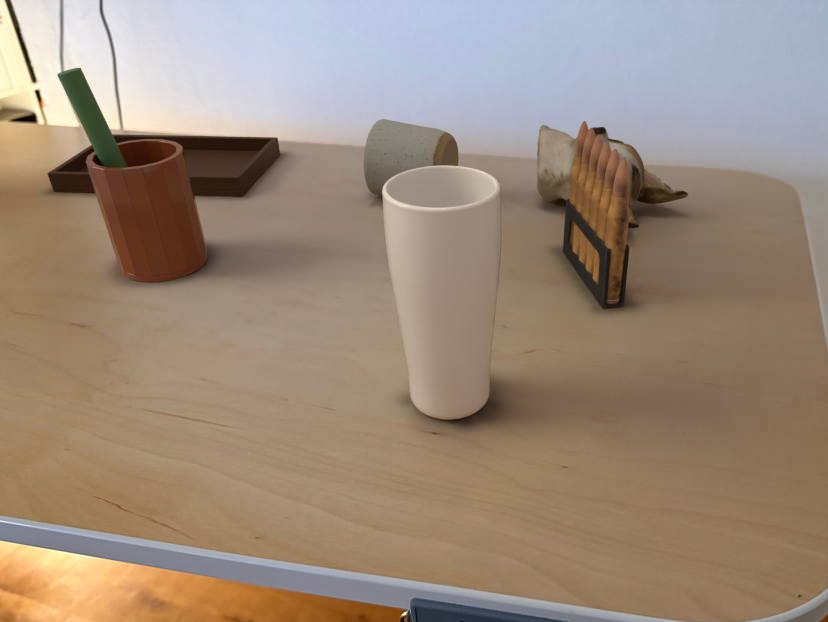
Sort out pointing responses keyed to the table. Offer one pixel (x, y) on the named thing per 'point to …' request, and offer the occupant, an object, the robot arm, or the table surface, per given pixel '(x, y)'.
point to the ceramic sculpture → (559, 161)
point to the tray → (190, 163)
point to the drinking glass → (445, 282)
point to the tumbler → (150, 211)
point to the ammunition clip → (598, 218)
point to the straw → (91, 118)
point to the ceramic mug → (404, 151)
